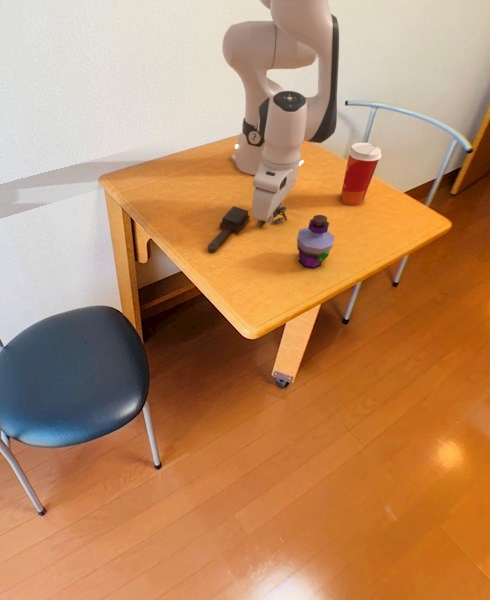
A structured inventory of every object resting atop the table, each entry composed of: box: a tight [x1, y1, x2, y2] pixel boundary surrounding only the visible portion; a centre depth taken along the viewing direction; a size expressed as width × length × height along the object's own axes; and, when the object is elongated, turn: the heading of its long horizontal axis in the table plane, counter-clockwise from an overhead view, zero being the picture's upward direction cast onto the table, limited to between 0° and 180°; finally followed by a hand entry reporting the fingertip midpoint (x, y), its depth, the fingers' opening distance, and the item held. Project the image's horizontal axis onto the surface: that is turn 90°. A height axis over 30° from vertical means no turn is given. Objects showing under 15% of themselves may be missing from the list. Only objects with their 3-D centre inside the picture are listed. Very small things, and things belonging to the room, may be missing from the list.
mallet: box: [207, 206, 251, 254], centre depth 108 cm, size 17×5×3 cm, turn 150°
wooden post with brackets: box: [256, 206, 288, 229], centre depth 112 cm, size 2×8×4 cm, turn 108°
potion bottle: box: [296, 214, 336, 270], centre depth 97 cm, size 9×9×12 cm
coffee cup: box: [340, 142, 382, 206], centre depth 116 cm, size 8×8×15 cm
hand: (272, 217), depth 111 cm, fingers open, 3 cm apart
